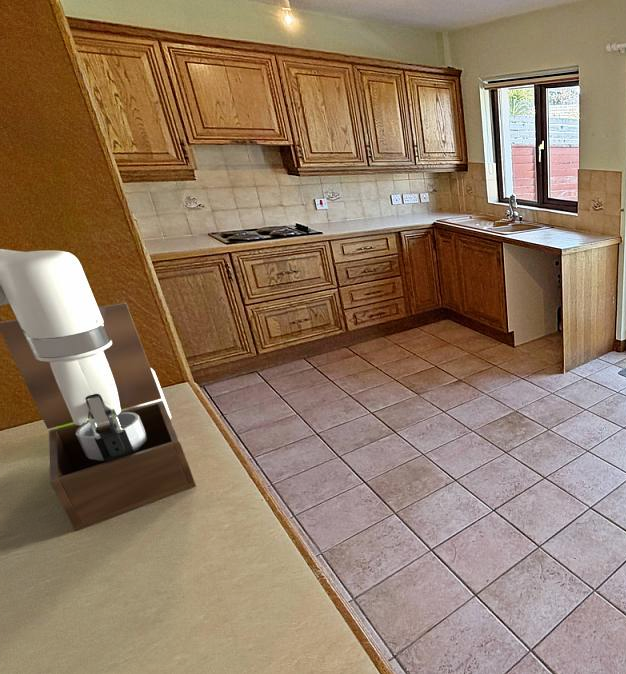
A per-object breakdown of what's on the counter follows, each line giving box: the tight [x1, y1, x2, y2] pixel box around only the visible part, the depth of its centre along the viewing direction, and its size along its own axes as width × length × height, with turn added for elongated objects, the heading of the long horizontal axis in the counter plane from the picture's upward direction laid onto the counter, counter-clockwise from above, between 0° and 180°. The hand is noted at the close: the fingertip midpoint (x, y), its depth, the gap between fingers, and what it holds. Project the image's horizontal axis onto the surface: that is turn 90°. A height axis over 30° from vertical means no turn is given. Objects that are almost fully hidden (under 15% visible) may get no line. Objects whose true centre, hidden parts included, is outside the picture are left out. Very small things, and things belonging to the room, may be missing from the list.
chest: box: [48, 401, 197, 532], centre depth 75 cm, size 17×14×9 cm
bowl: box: [76, 412, 147, 461], centre depth 72 cm, size 7×7×4 cm
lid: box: [0, 302, 162, 430], centre depth 77 cm, size 18×14×5 cm
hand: (116, 444), depth 73 cm, fingers closed on bowl, 7 cm apart
